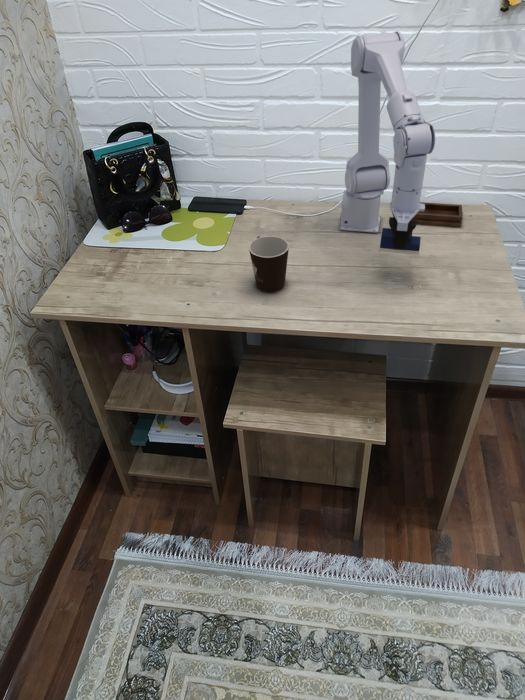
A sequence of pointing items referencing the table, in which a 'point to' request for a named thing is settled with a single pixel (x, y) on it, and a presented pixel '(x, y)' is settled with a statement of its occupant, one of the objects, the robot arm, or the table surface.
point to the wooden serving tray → (440, 215)
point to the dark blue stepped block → (388, 246)
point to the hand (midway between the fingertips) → (399, 243)
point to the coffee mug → (269, 262)
